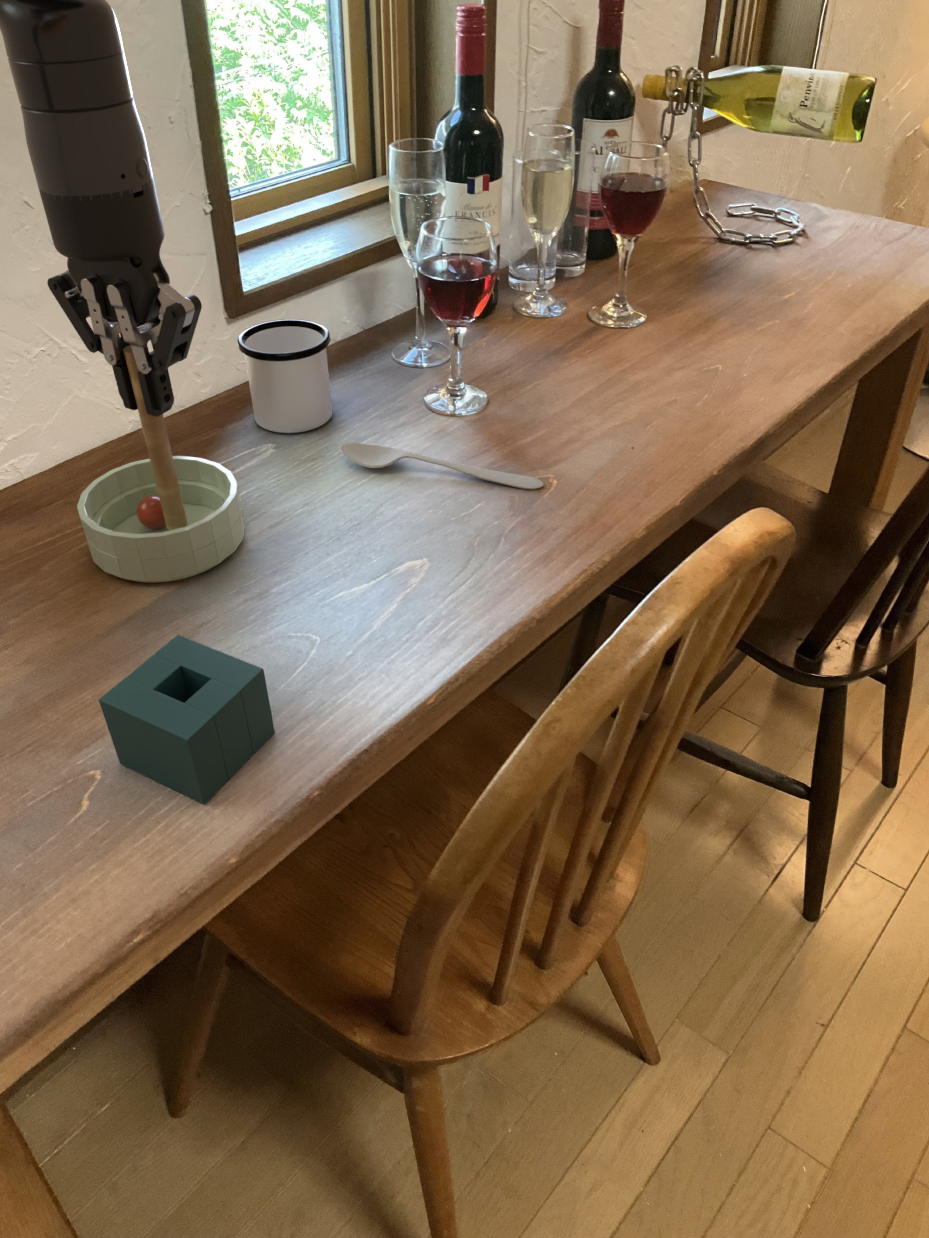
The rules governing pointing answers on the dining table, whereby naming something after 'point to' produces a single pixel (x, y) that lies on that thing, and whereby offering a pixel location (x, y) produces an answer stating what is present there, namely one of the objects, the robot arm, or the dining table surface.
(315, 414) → the mug
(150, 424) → the stick
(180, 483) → the bowl
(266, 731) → the holder
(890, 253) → the dining table surface
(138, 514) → the ball
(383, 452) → the spoon
